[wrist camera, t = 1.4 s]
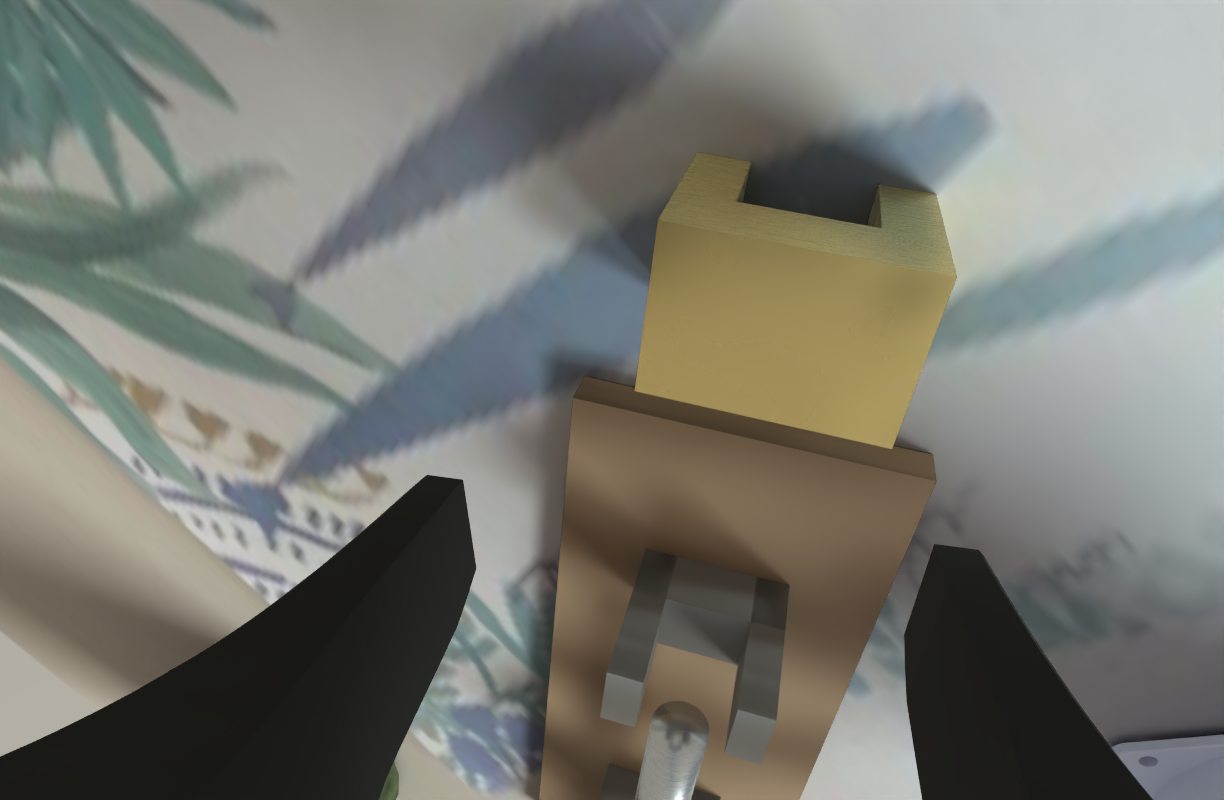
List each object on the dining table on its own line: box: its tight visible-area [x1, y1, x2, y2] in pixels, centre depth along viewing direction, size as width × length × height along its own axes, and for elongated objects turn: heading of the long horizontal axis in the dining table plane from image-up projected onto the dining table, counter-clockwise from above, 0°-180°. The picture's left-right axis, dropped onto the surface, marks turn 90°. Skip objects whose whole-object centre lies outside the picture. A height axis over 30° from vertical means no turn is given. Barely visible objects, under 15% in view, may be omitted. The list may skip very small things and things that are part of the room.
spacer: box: [635, 153, 957, 449], centre depth 18 cm, size 4×6×5 cm
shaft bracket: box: [539, 377, 936, 800], centre depth 27 cm, size 24×10×6 cm, turn 174°
